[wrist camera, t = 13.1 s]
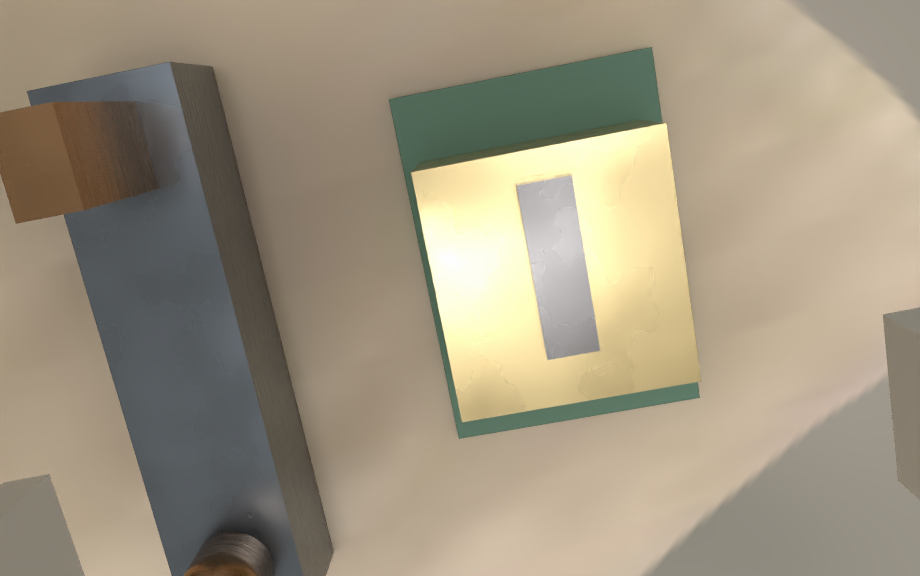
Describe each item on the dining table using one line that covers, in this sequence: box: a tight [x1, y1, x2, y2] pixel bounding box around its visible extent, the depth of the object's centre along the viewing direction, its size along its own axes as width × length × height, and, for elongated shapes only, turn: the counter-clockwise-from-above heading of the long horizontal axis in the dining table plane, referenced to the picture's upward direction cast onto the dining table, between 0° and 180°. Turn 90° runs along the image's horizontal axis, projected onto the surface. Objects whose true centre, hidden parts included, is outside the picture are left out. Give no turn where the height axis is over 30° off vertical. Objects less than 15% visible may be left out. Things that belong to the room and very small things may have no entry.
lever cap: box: [411, 120, 701, 422], centre depth 30 cm, size 9×8×5 cm
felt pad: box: [389, 47, 700, 439], centre depth 33 cm, size 14×10×1 cm
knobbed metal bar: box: [0, 62, 333, 576], centre depth 29 cm, size 21×5×10 cm, turn 11°
